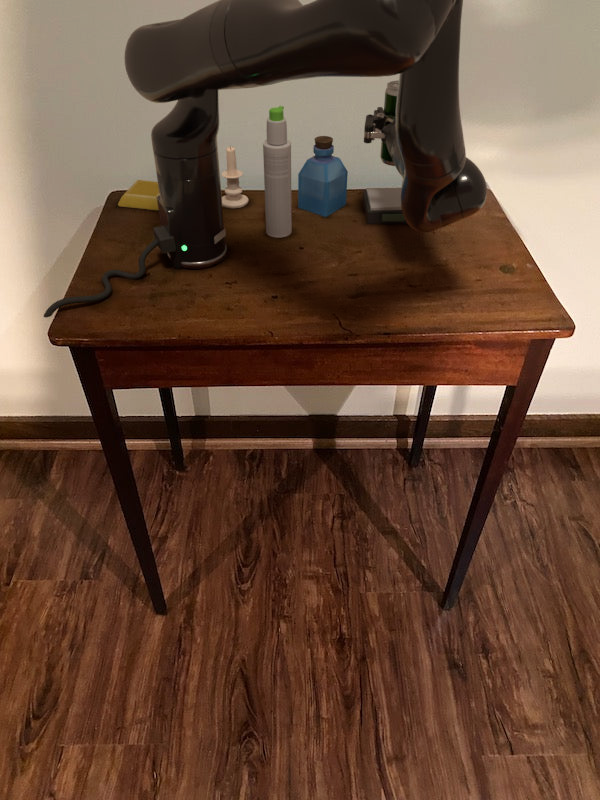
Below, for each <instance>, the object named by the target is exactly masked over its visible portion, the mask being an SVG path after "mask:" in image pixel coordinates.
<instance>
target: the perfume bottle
mask: <svg viewBox="0 0 600 800" xmlns="http://www.w3.org/2000/svg"><path fill="white" fill-rule="evenodd" d="M333 142H334V138H333V137H331V136H328V135H319V136H316V137H314V144H313V149H312V150H313V154H314V155H313V156H311V157H309V158H307V159H306V160H305V163H304V164H303V166H302V167H301V169H300V170H299V172H298V174H297V189H298V190H297V202H298V203H297V205H298V206H297V208H298V209H300V210H304V211H307V212H310V213H313V214H315V215H319V216H321V217H325V218H328V217H329V216H331V215H332V214H334V213H335V212H337V211H339V210H340V209H342V208H343V207H345V206H347V197H348V194H347V193H348V176H349V175H348V173H349V172H348V169H347V168H346V166H345V165H344V163H343V161H342V159H341V158H340V157H338V156H335V155H333V154H334V153H335V152H334V151H335V147H334V144H333Z"/></svg>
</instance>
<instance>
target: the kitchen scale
mask: <svg viewBox="0 0 600 800" xmlns="http://www.w3.org/2000/svg"><path fill="white" fill-rule="evenodd" d="M401 188H402V187H366V188H365V189H362V197H361V199H362V201H361V202H362V206H363V207H362V208H363V211H364V215H365V219H366V224H367V225H379V224H381V225H382V224H384V225H385V224H387V225H388V224H389V225H390V224H392V225H393V224H408V223H407V222H406V220H405V218H404V215H403V212H402V207H401Z"/></svg>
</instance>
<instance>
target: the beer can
mask: <svg viewBox="0 0 600 800" xmlns="http://www.w3.org/2000/svg"><path fill="white" fill-rule="evenodd" d="M398 85H399V79H398V80H392V81H389V82H387V84H386V88H385V90H384V102H383V103H384V104H383V110H384V112H385V115H391V114H392V115H394V116H395V117H396V103H397V94H398ZM380 144H381V145H380V159H381V163H383V164H385V165H387V166H391V167H395V164H394V163H393V161H392V158H391V156H390V153H389V151H388V148H387V144H386V143H384V142H382V141H381V143H380Z"/></svg>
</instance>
